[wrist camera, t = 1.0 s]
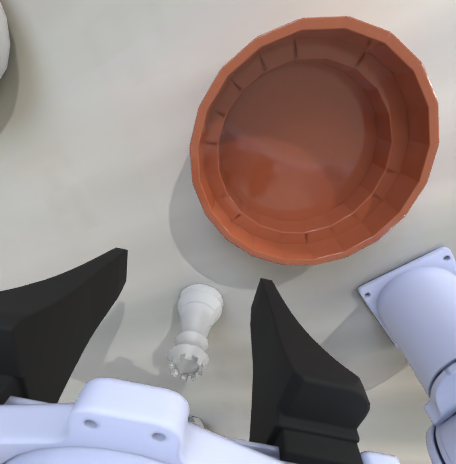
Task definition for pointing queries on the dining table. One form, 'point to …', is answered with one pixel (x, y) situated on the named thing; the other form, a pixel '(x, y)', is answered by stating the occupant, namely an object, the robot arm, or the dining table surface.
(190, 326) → the rook chess piece
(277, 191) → the bowl
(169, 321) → the dining table surface
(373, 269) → the dining table surface
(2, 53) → the donut
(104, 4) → the dining table surface
